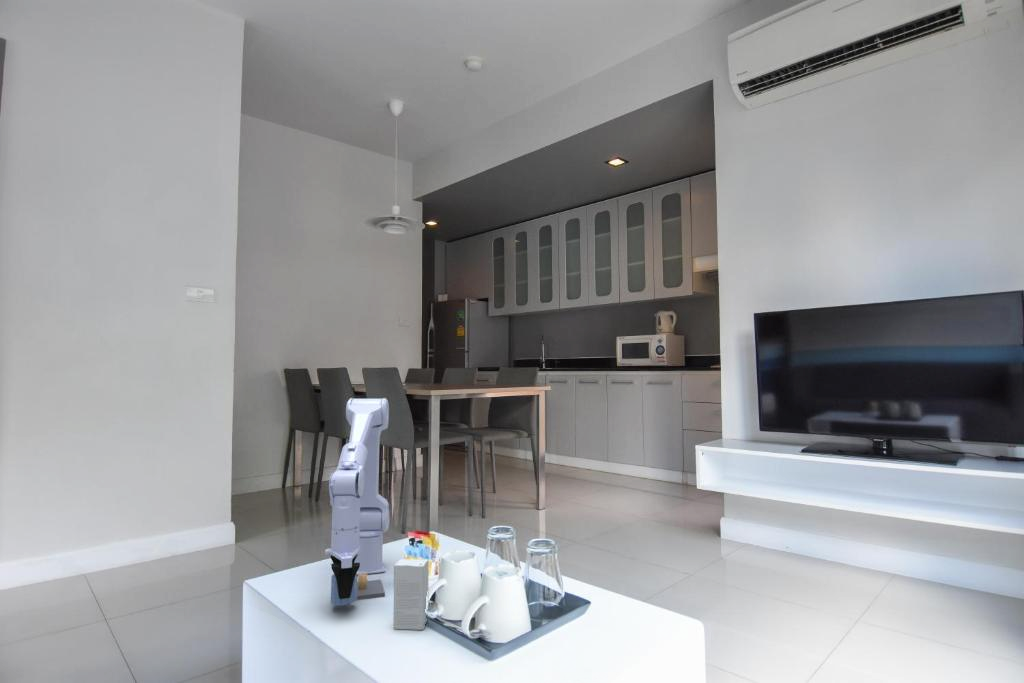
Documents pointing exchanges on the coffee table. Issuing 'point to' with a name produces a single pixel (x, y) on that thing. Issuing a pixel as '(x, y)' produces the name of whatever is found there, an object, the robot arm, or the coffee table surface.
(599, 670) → the coffee table surface
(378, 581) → the plate
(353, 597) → the cap
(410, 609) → the skincare box
